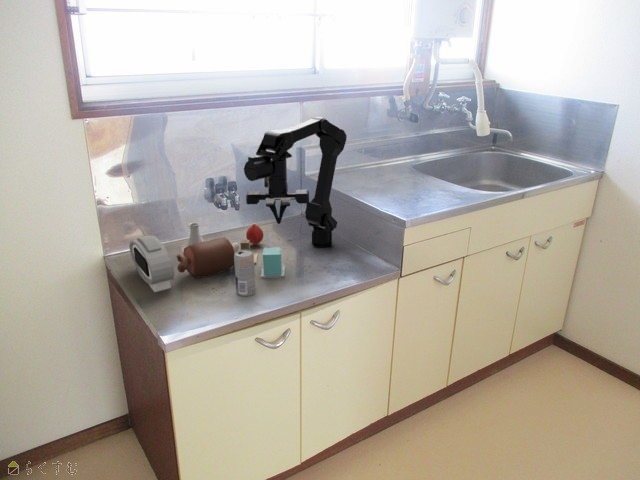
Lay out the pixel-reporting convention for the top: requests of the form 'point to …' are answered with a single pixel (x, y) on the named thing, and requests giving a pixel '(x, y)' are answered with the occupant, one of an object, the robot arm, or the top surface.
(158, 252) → the alarm clock
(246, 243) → the tan wooden stamp
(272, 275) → the light grey base plate
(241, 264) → the energy drink
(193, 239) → the flask
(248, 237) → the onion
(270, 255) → the turquoise block
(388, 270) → the top surface
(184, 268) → the meat
